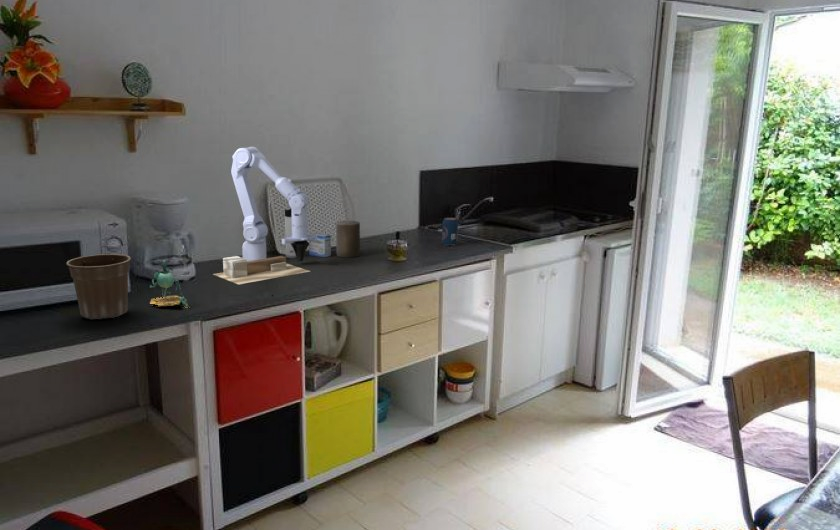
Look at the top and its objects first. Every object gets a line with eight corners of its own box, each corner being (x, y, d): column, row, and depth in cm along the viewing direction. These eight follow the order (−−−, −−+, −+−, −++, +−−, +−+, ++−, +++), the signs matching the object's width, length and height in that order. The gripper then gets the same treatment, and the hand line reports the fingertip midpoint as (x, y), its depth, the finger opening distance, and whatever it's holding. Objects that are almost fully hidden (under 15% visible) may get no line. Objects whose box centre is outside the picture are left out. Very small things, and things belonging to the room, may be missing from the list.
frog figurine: (165, 315, 191) (159, 264, 189) (141, 307, 204) (135, 260, 202) (197, 308, 198) (191, 259, 195) (172, 301, 211) (166, 255, 208)
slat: (243, 272, 236) (242, 262, 236) (281, 266, 247) (281, 255, 246) (247, 274, 234) (247, 263, 233) (286, 267, 245) (285, 257, 244)
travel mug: (293, 259, 264) (292, 209, 259) (282, 257, 267) (281, 207, 263) (305, 256, 268) (304, 207, 264) (294, 254, 272) (293, 206, 268)
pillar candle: (362, 257, 271) (363, 220, 267) (339, 258, 267) (339, 221, 264) (356, 252, 279) (356, 216, 276) (333, 253, 276) (333, 217, 272)
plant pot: (59, 321, 183) (52, 264, 179) (94, 305, 199) (89, 252, 195) (114, 325, 181) (109, 267, 177) (145, 308, 197) (141, 255, 193)
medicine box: (308, 255, 272) (308, 234, 270) (315, 253, 276) (315, 232, 274) (324, 257, 268) (324, 236, 266) (331, 255, 272) (331, 234, 270)
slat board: (212, 276, 234) (211, 257, 232) (283, 265, 254) (283, 247, 252) (238, 287, 222) (237, 266, 220) (310, 273, 241) (310, 255, 240)
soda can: (439, 243, 300) (439, 217, 298) (452, 242, 303) (453, 216, 301) (446, 246, 294) (446, 220, 292) (459, 245, 297) (460, 219, 295)
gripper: (288, 228, 240) (289, 265, 243) (321, 224, 250) (322, 259, 253) (278, 226, 245) (279, 262, 248) (310, 222, 255) (311, 256, 258)
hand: (300, 260), depth 251 cm, fingers closed
